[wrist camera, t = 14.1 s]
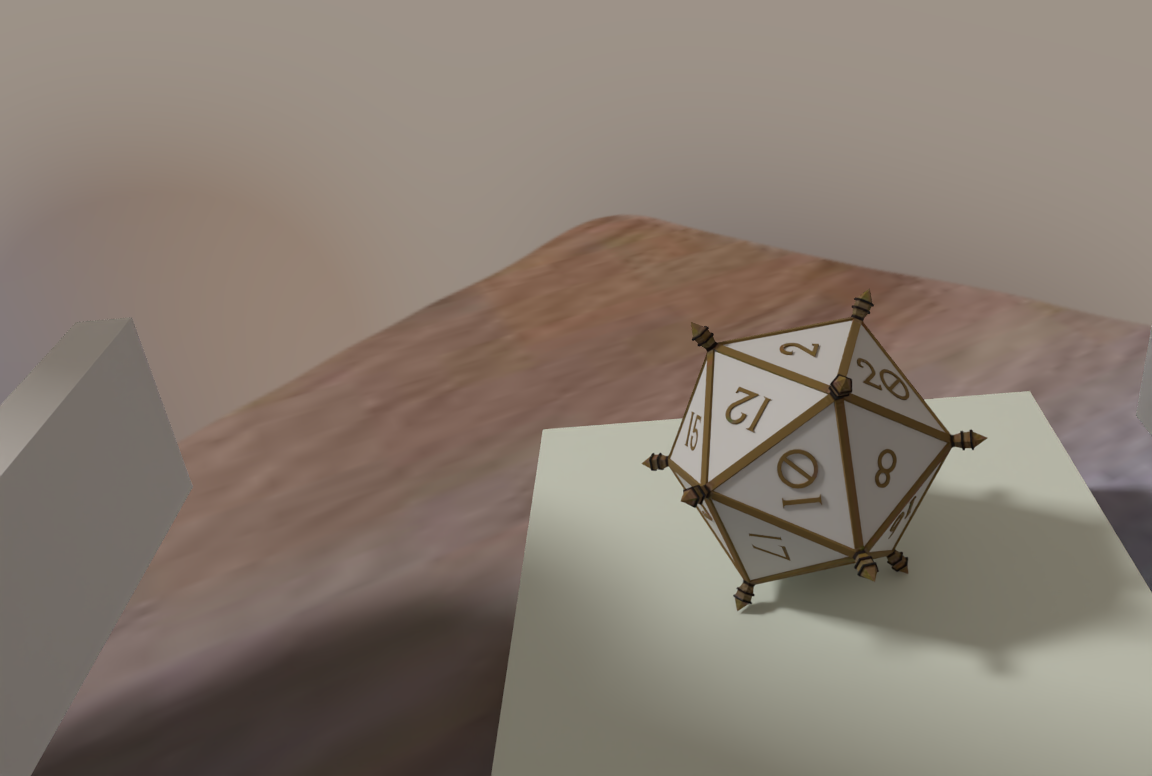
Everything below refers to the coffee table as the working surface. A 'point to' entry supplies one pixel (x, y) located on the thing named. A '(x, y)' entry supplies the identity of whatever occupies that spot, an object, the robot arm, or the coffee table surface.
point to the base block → (829, 626)
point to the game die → (806, 450)
